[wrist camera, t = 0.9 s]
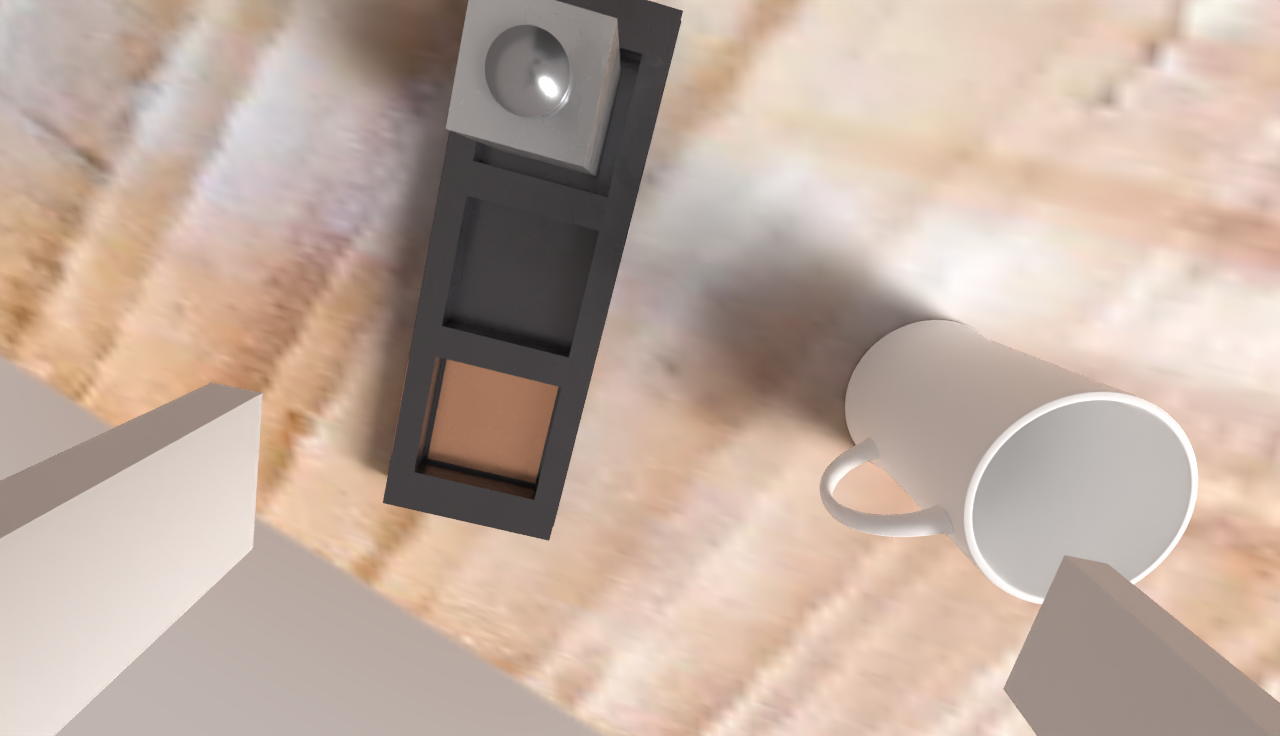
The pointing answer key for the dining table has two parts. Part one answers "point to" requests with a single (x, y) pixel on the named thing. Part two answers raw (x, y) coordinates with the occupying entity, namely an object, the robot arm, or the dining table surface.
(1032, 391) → the mug
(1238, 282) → the dining table surface
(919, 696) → the dining table surface
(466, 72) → the grey block with knob
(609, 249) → the tray with compartments
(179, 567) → the robot arm
